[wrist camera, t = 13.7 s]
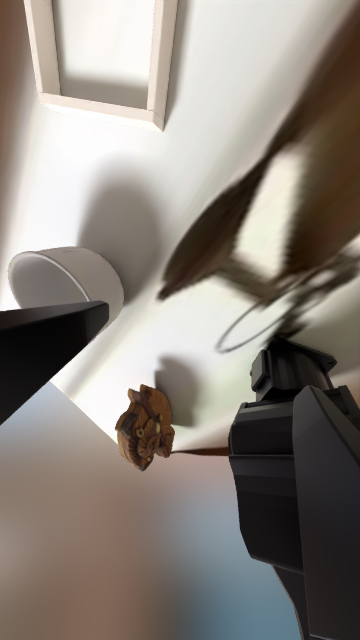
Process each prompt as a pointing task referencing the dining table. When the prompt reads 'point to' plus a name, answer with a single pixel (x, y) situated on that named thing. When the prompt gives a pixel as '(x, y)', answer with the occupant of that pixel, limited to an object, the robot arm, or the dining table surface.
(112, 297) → the teacup
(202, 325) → the dining table surface
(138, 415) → the wooden carving
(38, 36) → the tray
